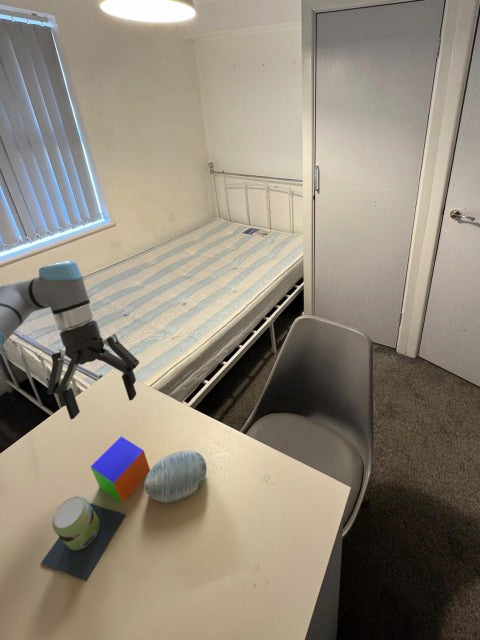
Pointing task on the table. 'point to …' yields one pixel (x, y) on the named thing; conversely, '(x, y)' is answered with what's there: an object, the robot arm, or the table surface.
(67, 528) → the beverage can
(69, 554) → the pad
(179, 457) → the grey yarn skein
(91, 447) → the table surface
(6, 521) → the table surface
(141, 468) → the cube
